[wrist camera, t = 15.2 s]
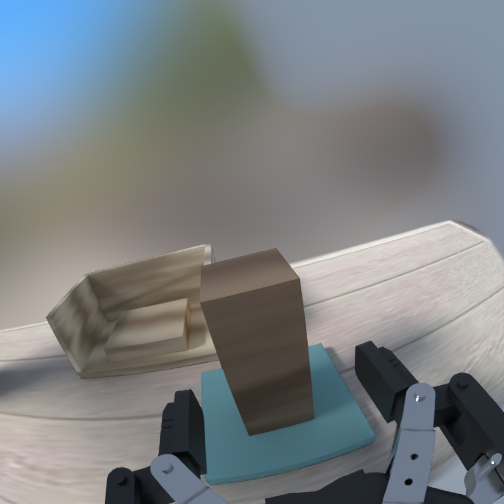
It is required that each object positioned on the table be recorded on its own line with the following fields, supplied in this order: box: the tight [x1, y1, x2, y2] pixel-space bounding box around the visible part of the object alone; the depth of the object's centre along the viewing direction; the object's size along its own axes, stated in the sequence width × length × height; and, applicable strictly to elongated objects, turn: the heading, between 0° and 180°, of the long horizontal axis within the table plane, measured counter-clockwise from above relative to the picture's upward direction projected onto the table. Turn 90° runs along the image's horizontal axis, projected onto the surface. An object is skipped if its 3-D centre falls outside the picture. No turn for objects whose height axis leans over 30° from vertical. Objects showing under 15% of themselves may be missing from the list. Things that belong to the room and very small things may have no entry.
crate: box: [46, 243, 219, 378], centre depth 32 cm, size 13×20×9 cm, turn 99°
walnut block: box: [200, 248, 315, 436], centre depth 18 cm, size 5×5×12 cm
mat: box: [202, 343, 376, 485], centre depth 20 cm, size 12×12×1 cm
